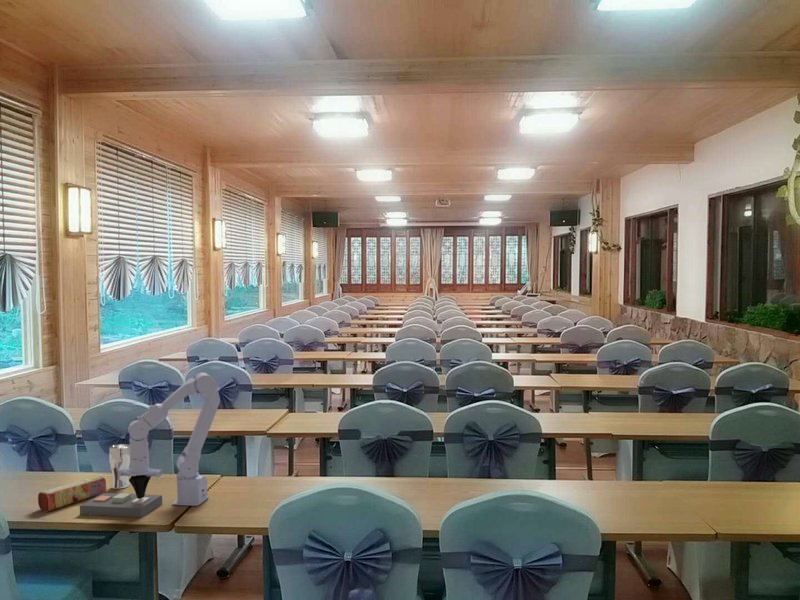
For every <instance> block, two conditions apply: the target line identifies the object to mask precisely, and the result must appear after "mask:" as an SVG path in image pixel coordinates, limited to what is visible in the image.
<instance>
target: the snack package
mask: <svg viewBox="0 0 800 600" xmlns="http://www.w3.org/2000/svg"><path fill="white" fill-rule="evenodd" d="M102 493H107V481H106V479H105V477H104V476H98V475H96V476H95V475H94V476H92V477H89V478H86V479H82V480H78V481H74V482H71V483H67V484H64V485H61V486H57V487H54V488H50V489H46V490H42V491H40V492H39V493H38V494H37V503H38V507H39V509H40V510H41V511H43V512H46V511H47V512H48V511H49V512H51V511H54V510H57V509H60V508H63V507H66V506H68V505H72V504H75V503H78V502H81V501H83V500H88V499H91V498H95V497H97V496H99V495H101V494H102ZM90 497H91V498H90ZM87 498H88V499H87ZM47 512H46V513H47Z"/></svg>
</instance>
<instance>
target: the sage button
mask: <svg viewBox="0 0 800 600" xmlns="http://www.w3.org/2000/svg"><path fill="white" fill-rule="evenodd" d="M131 494H132V493H121V494H118V495H116V496H114V497H113V498H112V503H124V502H126V501H128V500H130V499H131Z"/></svg>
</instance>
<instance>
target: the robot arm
mask: <svg viewBox="0 0 800 600" xmlns="http://www.w3.org/2000/svg"><path fill="white" fill-rule="evenodd" d="M197 392H198V393H199V394H200V396H201V398H202V400H203V405H202V407H201V410H200V413H199V414H198V417H197V420H196V422H195V425H194V428H193V429H192V433H191V435H190V437H189V440H188V443H187V445H186V446H185V447H184V449H183V450H182V453H181V454H180V455H179V456H178V457H177V459H176V460H175V464H176V468H177V469H178V473H177V474H176V496H177V497H176V498H177V499H176V500H175V501H173V502H172V503H171V504H172V506H193V507H195V506H196V507H197V506H199V505H201V504H202V503H203V502H205V501H206V500H207V499H209V498H210V497H209V496H208V480H207V477H206V476H204V475H200V473H199V469H200V466H199V465H200V464H199V463H200V459H201V453H202V449H203V446H204V444H205V441H206V439H207V437H208V435H209V432H210V429H211V426H212V424H213V422H214V419H215V416H216V413H217V411H218V408H219V405H220V403H221V399H220V394H219V388H218V383H217V382H216V380H215V379H214V377H212V376H211V375H209V373H207V372H203V371H200V372H198V373H195V375H193V377H190V378H188V379H187V380H186V381H185V382H184V383H182V384H181V386H179V388H177V389H176V390H175V391H173V393H172V394H171V395H169V396H168V397H167V398H166V399H165V400H164V401H162V403H155V404H151V405H149V406H148V409H147V410H146V411H145V412H144V413H143V414H141V415H138V416H137V417H136V419H135V420H133V421H131V422H130V423H129V425H128V427H127V432H128V434H129V440H128V441H129V444H128V445H129V451H130V465H129V469H120V470H118V476H128V477H129V483H130V485H131V486H132V488H133V490H134V492H135V493H134V494H136V496H137V499H142V498H143V497H144V496H145V494H146V490H147V487H148V484H149V482H150V480H151V478H152V477H153V478H154V477H155V478H160V477H161V476H163V475H162V474H163V473H162V469H156V468H152V467H150V458H149V457H150V455H149V442H148V436H149V432H150V430H153V429H154V428H156V427H157V426H158V425H159V424H160V423H161V422H162V421H163V420H165V419H166V418H167V417H168V414H169V413H168V412H169V410H171V409H173V407H175V406H176V405H177V404H179V403H180V402H182V401H183V400H184V399H185V398H186V397H187V396H194V395H198V393H197Z"/></svg>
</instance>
